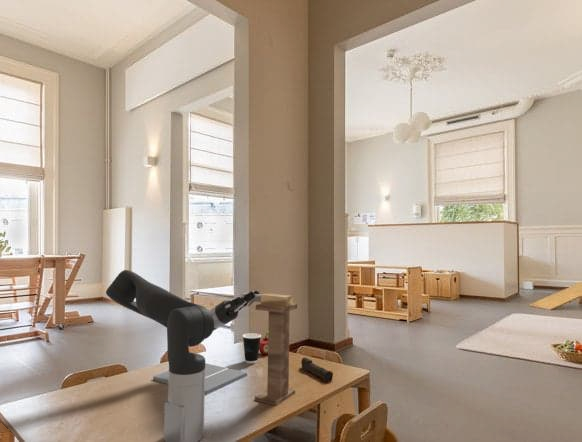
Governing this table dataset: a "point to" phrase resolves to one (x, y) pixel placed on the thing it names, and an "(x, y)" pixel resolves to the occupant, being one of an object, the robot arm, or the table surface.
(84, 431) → the table surface
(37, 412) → the table surface
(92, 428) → the table surface
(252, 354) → the dixie cup
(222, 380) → the flat grey board
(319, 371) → the hand tool
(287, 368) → the walnut stand
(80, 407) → the table surface
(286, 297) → the wood and grey bar
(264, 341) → the apple
